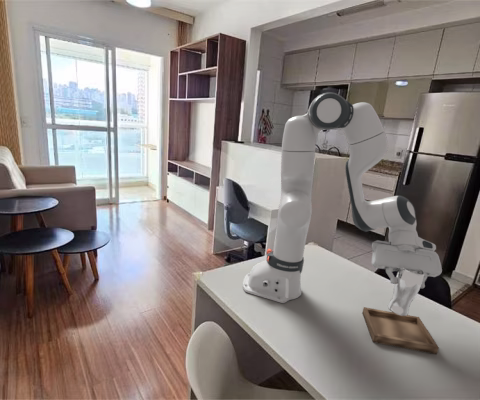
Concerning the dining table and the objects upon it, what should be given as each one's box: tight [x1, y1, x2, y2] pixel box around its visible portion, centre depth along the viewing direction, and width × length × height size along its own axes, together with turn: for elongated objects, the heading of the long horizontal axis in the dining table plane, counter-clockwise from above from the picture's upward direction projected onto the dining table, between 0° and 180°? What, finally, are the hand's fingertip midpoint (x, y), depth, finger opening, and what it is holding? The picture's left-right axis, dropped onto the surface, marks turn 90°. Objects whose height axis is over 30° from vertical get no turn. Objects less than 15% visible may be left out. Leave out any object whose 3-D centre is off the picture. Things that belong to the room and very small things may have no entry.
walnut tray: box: [361, 306, 440, 355], centre depth 94 cm, size 18×14×2 cm
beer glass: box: [387, 264, 425, 316], centre depth 92 cm, size 7×7×15 cm
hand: (407, 285), depth 91 cm, fingers closed on beer glass, 6 cm apart
